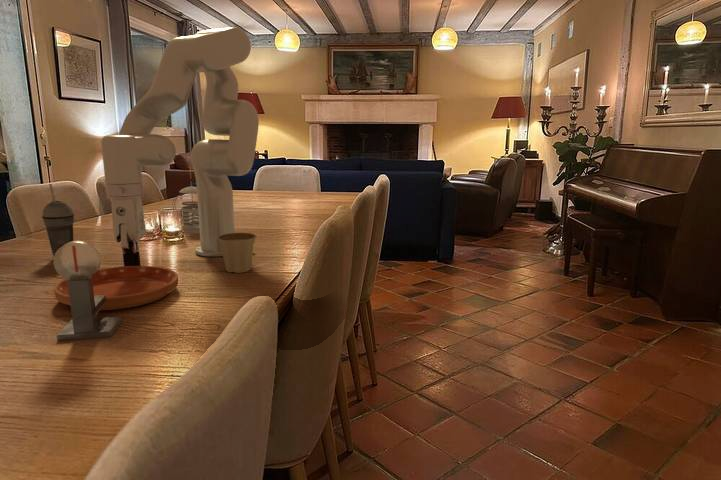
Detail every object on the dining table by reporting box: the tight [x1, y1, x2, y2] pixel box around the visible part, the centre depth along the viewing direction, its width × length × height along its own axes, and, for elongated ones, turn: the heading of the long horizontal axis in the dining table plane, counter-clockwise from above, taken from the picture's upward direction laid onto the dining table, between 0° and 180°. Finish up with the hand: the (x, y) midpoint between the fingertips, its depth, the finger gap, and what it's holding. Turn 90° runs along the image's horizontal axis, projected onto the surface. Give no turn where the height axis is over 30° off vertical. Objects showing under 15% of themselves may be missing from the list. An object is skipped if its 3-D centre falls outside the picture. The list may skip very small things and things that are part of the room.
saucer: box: [53, 265, 179, 311], centre depth 99 cm, size 23×23×4 cm
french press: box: [171, 157, 200, 234], centre depth 164 cm, size 10×12×25 cm
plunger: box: [96, 302, 105, 316], centre depth 85 cm, size 1×6×1 cm, turn 13°
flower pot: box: [217, 232, 257, 274], centre depth 118 cm, size 9×9×9 cm
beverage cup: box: [41, 183, 75, 258], centre depth 125 cm, size 7×7×20 cm
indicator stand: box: [52, 240, 122, 342], centre depth 81 cm, size 8×8×16 cm
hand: (132, 268), depth 111 cm, fingers closed
